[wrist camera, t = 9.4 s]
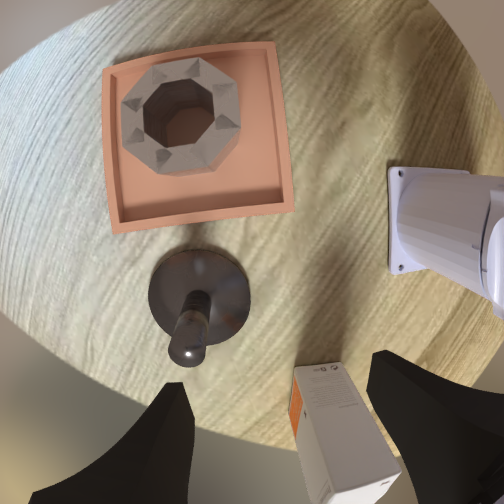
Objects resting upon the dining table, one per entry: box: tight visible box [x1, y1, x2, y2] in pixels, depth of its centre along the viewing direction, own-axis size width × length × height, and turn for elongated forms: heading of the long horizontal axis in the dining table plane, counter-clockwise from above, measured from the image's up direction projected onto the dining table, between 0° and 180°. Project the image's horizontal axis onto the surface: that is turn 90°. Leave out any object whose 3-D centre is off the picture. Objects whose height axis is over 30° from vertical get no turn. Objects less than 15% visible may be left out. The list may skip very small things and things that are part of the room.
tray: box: [102, 41, 295, 234], centre depth 15 cm, size 11×11×2 cm
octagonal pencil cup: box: [121, 57, 241, 177], centre depth 13 cm, size 5×5×5 cm
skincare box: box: [288, 362, 402, 504], centre depth 16 cm, size 6×4×12 cm
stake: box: [148, 249, 251, 367], centre depth 15 cm, size 7×7×6 cm
